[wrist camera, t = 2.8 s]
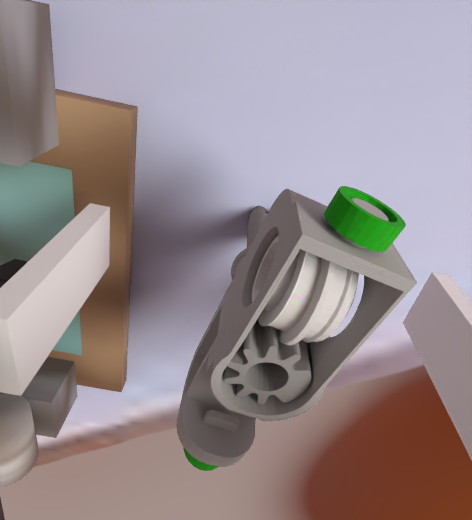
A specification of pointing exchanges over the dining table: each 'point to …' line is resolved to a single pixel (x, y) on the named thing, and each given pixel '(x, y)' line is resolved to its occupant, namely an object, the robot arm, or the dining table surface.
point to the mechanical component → (289, 318)
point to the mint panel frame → (60, 221)
